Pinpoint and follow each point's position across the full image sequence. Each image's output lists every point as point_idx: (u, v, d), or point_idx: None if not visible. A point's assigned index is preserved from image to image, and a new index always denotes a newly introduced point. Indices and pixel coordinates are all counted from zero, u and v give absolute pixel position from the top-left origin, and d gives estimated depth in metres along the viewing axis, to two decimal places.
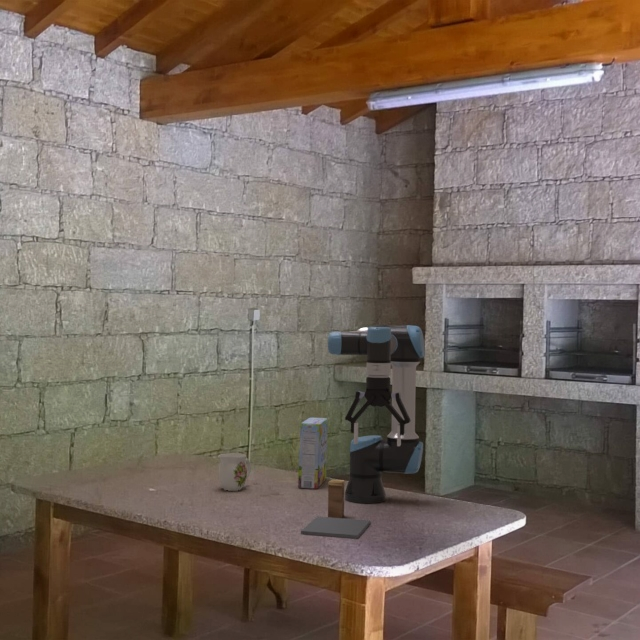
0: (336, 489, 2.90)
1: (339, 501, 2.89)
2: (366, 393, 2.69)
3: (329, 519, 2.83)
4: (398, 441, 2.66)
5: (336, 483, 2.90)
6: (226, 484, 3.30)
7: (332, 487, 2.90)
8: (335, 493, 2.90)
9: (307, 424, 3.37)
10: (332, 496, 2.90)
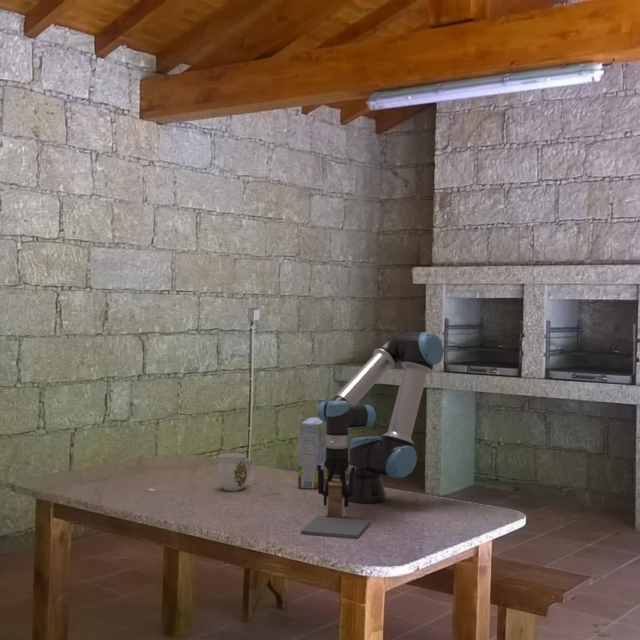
0: (336, 489, 2.90)
1: (339, 501, 2.89)
2: (325, 463, 2.92)
3: (329, 519, 2.83)
4: (342, 512, 2.90)
5: (336, 483, 2.90)
6: (226, 484, 3.30)
7: (332, 487, 2.90)
8: (335, 493, 2.90)
9: (307, 424, 3.37)
10: (332, 496, 2.90)
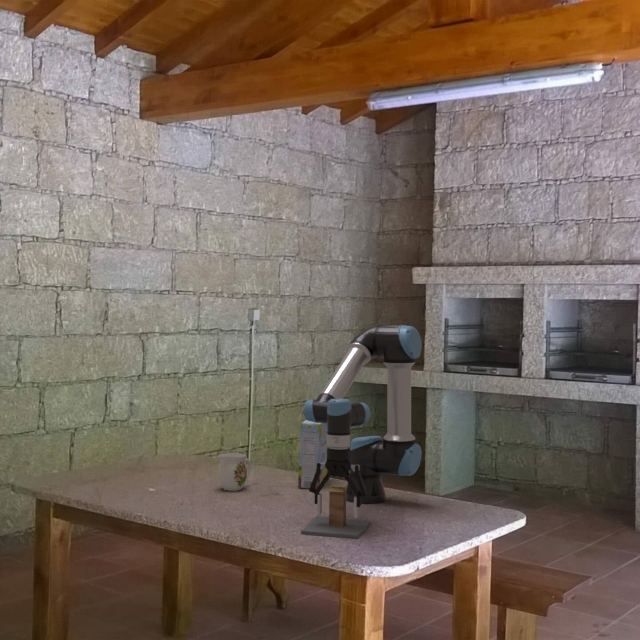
0: (337, 496, 2.74)
1: (341, 508, 2.74)
2: (326, 464, 2.76)
3: None
4: (355, 513, 2.74)
5: (337, 489, 2.74)
6: (226, 484, 3.30)
7: (333, 494, 2.75)
8: (336, 500, 2.74)
9: (307, 424, 3.37)
10: (333, 503, 2.75)
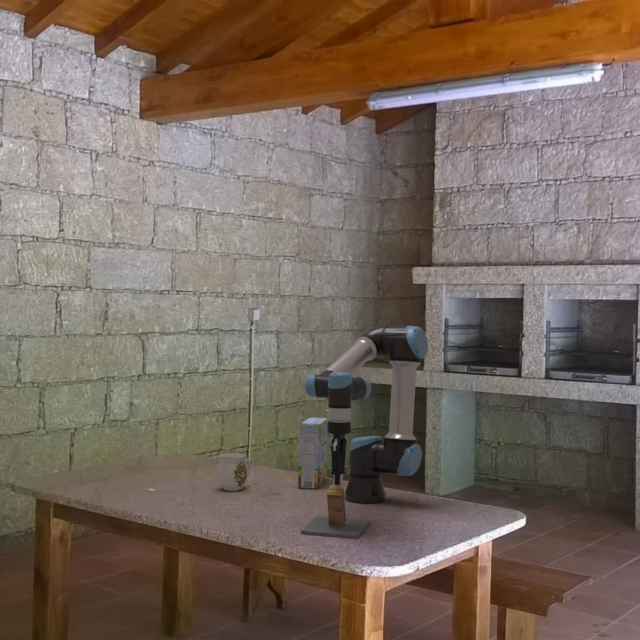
0: (335, 499, 2.72)
1: (339, 510, 2.72)
2: None
3: None
4: None
5: (335, 493, 2.71)
6: (226, 484, 3.30)
7: (331, 497, 2.72)
8: (335, 502, 2.72)
9: (307, 424, 3.37)
10: (332, 505, 2.73)
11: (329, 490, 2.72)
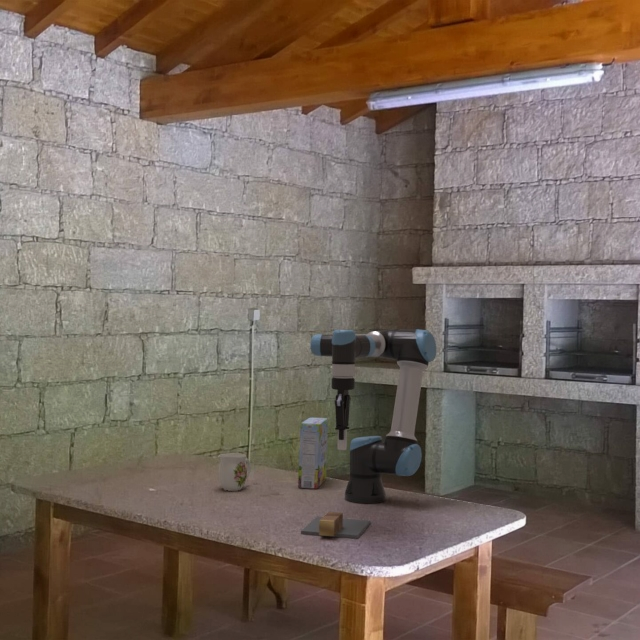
0: None
1: None
2: None
3: None
4: None
5: None
6: (226, 484, 3.30)
7: None
8: None
9: (307, 424, 3.37)
10: None
11: (321, 532, 2.63)
